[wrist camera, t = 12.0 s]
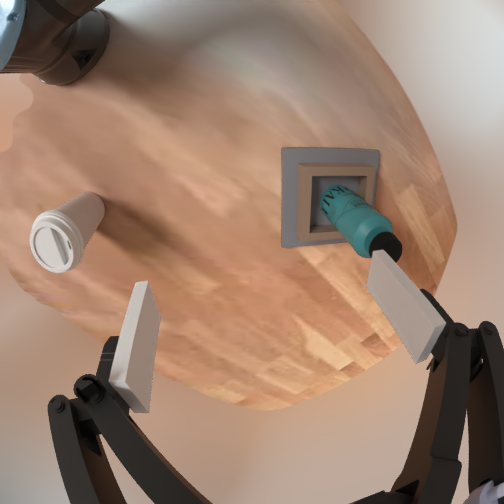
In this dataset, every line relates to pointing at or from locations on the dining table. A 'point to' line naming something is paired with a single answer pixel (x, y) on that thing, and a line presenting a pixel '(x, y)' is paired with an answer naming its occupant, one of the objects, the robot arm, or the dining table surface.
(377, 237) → the beverage bottle
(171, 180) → the dining table surface
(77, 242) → the coffee cup
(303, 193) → the bottle stand
